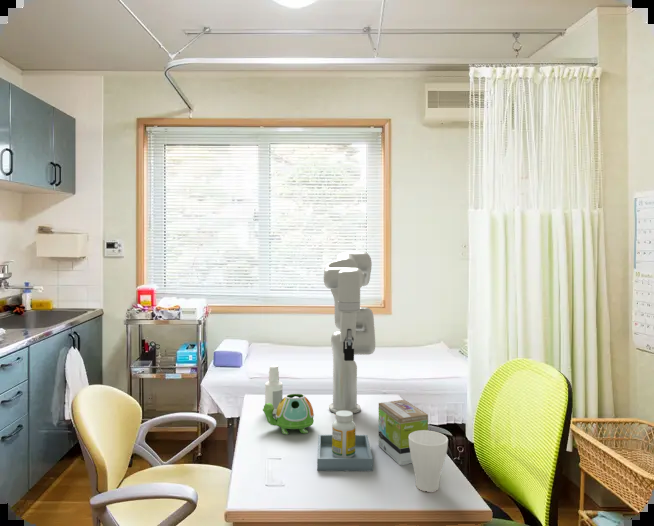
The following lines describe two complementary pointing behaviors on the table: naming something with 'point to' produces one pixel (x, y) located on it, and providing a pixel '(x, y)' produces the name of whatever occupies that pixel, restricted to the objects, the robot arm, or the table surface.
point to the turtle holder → (291, 413)
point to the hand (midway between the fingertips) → (348, 356)
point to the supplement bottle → (343, 435)
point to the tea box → (399, 428)
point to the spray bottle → (273, 388)
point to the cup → (427, 458)
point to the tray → (355, 463)
